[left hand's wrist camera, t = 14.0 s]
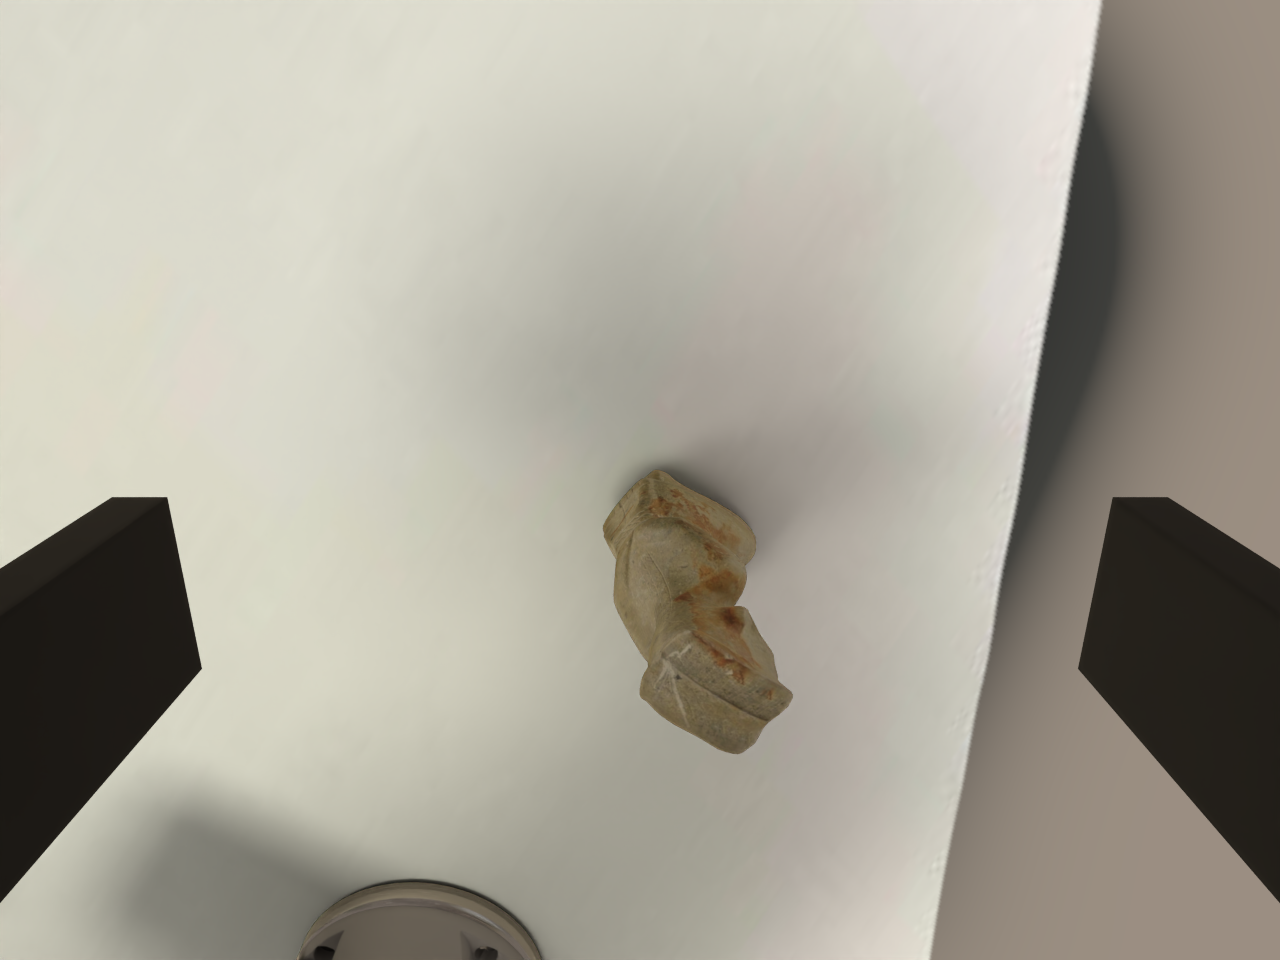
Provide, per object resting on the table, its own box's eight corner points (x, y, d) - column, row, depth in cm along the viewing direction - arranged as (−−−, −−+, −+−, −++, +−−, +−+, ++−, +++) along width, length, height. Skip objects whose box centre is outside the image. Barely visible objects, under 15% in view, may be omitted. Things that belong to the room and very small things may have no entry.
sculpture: (693, 601, 45) (718, 800, 31) (586, 518, 44) (561, 689, 30) (770, 522, 44) (832, 694, 30) (662, 433, 42) (673, 571, 28)
